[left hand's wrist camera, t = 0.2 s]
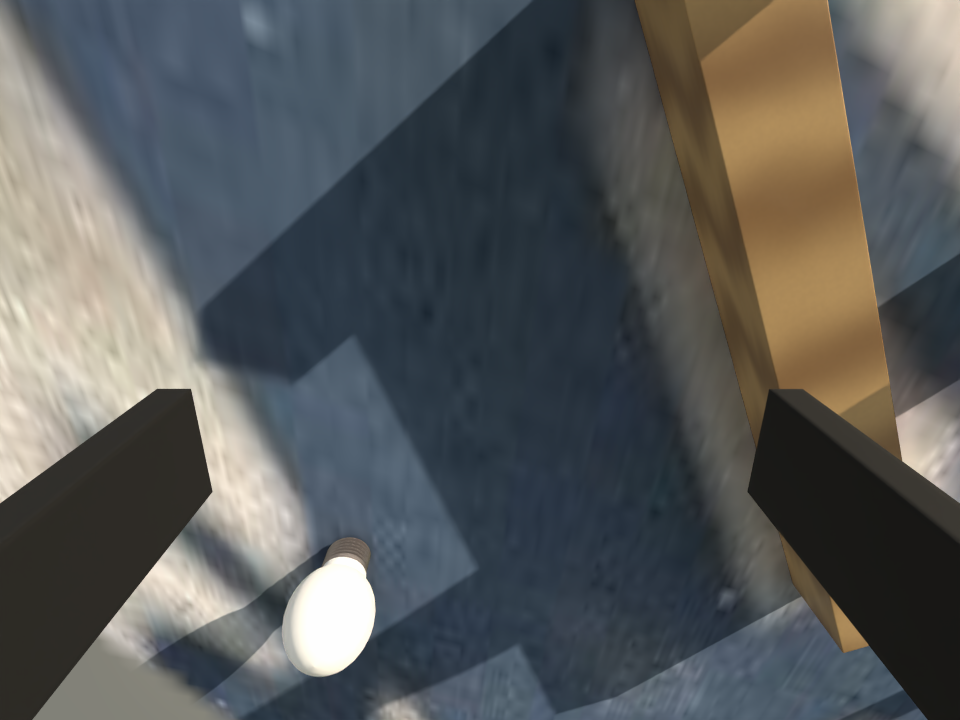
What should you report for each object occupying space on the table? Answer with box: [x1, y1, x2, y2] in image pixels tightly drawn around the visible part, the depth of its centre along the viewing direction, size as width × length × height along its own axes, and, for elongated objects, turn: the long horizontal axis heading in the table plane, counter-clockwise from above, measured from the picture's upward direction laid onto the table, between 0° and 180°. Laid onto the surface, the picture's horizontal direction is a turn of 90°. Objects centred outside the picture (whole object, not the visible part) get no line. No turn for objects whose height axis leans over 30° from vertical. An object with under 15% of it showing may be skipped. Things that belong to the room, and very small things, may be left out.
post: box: [635, 0, 902, 653], centre depth 37 cm, size 51×7×7 cm, turn 23°
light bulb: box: [282, 538, 375, 677], centre depth 43 cm, size 7×7×11 cm
